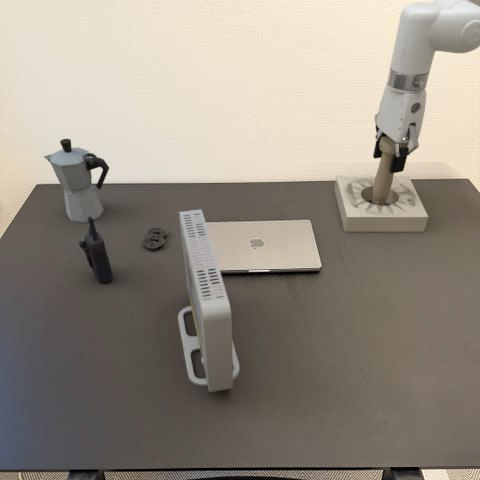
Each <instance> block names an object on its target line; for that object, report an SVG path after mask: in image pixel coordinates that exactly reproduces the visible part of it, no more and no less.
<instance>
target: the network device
mask: <svg viewBox="0 0 480 480" xmlns="http://www.w3.org/2000/svg"><path fill="white" fill-rule="evenodd" d="M178 217H179V226H180V227H179V228H180V235H181V243H182V252H183V253H182V254H183V261H184V271H185V279H186V280H185V281H186V287H187V294H188V299H189V303H190V305H189V306H186V307H184V308H182V309H181V310H180V311H179V313H178V315H177V320H178V321H177V322H178V327H179V333H180V339H181V343H182V349H183V350H182V351H183V355H184V360H185V361H184V362H185V366H186V367H185V368H186V372H187V376H188V379H189V381H190V382H191V383H192V384H194V385H195V386H197V387H207V388H208V389H207V390H208V392H209V393H214V392H220V391H224V390H231V389H233V388H234V381H235V380H236V378H237V377H238V376H239V374H240V363H239V359H238V356H237V352H236V349H235V344H234V341H233V320H232V319H233V318H232V317H233V316H232V310H231V305H230V301H229V298H228V293H227V291H226V287H225V284H224V281H223V280H224V279H223V276H222V273H221V270H220V267H219V266H220V265H219V263H218V260H217V257H216V254H215V250H214V246H213V243H212V239H211V236H210V233H209V229H208V226H207V222H206V219H205V216H204V213H203V209H193V210H185V211H184V210H183V211H178ZM187 314H192V316H193V317H192V318H193V323H194V327H195V332H196V335H194V336H191V335H188V334H187V331H186V326H185V325H186V324H185V320H184V316H185V315H187ZM198 351H200V355H201V357H200V360H201V361H200V362H201V366H203V369H204V374H205V377H204V378H198V377H196V375H195V372H194V367H193V361H192V354H193V353H194V352H198Z"/></svg>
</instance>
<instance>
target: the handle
mask: <svg viewBox="0 0 480 480" xmlns="http://www.w3.org/2000/svg"><path fill="white" fill-rule="evenodd" d="M379 146H380V150H381V151H382V156H381V158H380V160H379V164H378V168H377V171H376V174H375V176H376V178H375V182H374V188H373V198H372V200H371V204H374V205H379V206H385V205H386V203H385V202H386V199H387V197H388V195H389V192H390V189H391V185H392V181H393V176H395V173H390V172H389V171H390V166H391V162H392V158H393V155H396V151H395V141H394V140H392V139H391V138H390V137H389V136H383V137H381V139H380V144H379ZM404 147H405V143H403V144H401V149H403V148H404Z"/></svg>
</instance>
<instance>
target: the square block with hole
mask: <svg viewBox="0 0 480 480" xmlns="http://www.w3.org/2000/svg"><path fill="white" fill-rule="evenodd" d="M375 178H376V175H374V176H373V175H372V176H368V175H367V176H365V175H363V176H362V175H361V176H360V175H359V176H357V175H355V176H354V175H353V176H351V175H350V176H348V175H347V176H344V175H343V176H341V175H340V176H339V175H338V176H335V181H334V187H333V192H334V196H335V199H336V202H337V207H338V212H339V215H340V219H341V224H342V227H343V231H344V233H358V232H359V233H376V232H377V233H424V232H425V228H426V226H427V224H428V219H429V215H428V213H427V211H426V209H425V207H424V205H423V202H422V201H421V199H420V196H419V194H418V192H417V190H416V188H415V186H414V184H413V182H412V180H411V178H410V176H408V175H405V176H404V175H403V176H402V175H396V176H395V175H394V176H393V181H392V185H391V189H390V192H389V195H388V197H387V199H386V202H385V204H387V205H383V206H379V205H375V204H373V203H372V202H371V203H370V202H369V201H372V198H373V188H374V182H375Z"/></svg>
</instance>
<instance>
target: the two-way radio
mask: <svg viewBox="0 0 480 480" xmlns="http://www.w3.org/2000/svg"><path fill="white" fill-rule="evenodd" d="M88 221H89V222H88V224H89V227H88V232H87V233H86V234H85V235H84V240H79V241H78V245H79V248H81V249H82V250H83V252H84V254H85V257H86V261H87V263H88V266H89V268H90V269H92V273H93V275H94V278H95V279H96V281H97V282H98V283H100V284H108V283H111V282H112V281H113V280H114V275H113V270H112V266H111V262H110V258H109V255H108V253H107V249H106V245H105V241H104V239H103V237H102V235H101V234H100V233H99V232H98V231H97V228H96V225H95V222H94V220H93V219H92V217H91V216H89V217H88Z"/></svg>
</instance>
